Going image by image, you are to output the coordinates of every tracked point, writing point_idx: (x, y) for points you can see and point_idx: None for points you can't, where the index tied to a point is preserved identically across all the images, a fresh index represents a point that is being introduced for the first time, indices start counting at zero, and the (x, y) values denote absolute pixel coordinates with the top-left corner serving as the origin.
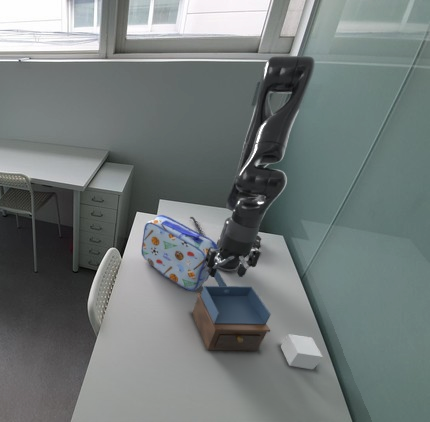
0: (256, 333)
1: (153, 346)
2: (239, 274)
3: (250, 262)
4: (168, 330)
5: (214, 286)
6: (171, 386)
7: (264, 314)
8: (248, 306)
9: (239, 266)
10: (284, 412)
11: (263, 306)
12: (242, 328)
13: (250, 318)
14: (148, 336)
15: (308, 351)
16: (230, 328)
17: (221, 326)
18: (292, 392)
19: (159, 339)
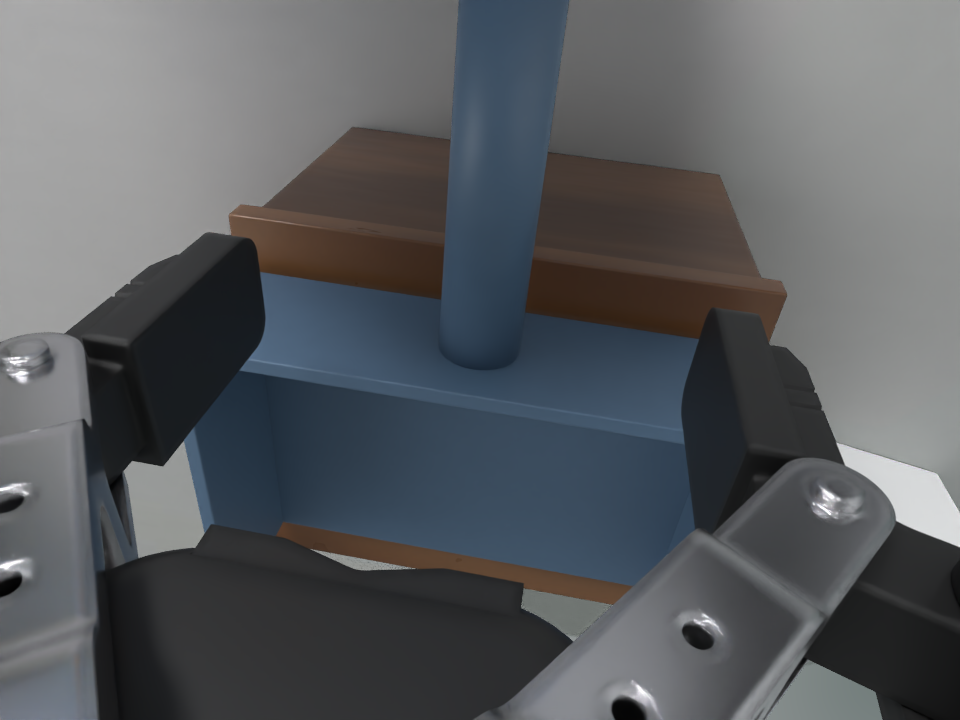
0: None
1: (65, 324)
2: (694, 390)
3: (924, 677)
4: (155, 239)
5: (292, 373)
6: (147, 491)
7: None
8: (652, 454)
9: (732, 413)
10: (555, 626)
11: None
12: (466, 570)
13: (574, 543)
14: (32, 263)
15: None
16: (379, 557)
17: (324, 534)
18: None
19: (97, 290)
